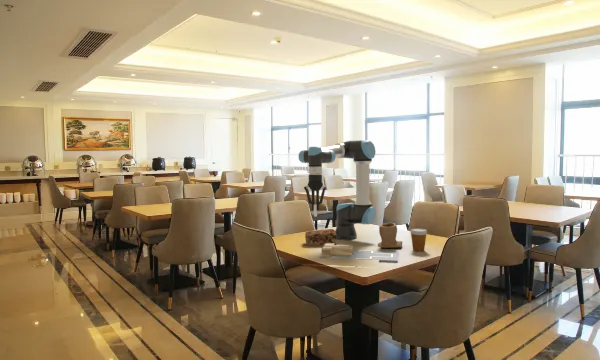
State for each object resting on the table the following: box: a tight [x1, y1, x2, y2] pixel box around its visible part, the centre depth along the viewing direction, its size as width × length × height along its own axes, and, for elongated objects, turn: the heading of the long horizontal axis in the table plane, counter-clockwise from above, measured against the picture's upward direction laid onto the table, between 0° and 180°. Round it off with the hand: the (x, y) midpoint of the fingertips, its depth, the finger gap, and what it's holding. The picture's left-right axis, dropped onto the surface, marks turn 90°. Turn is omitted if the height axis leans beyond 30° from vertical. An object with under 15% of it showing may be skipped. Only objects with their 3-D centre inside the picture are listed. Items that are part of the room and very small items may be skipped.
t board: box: [318, 249, 399, 263], centre depth 239 cm, size 20×42×1 cm, turn 78°
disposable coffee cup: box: [409, 228, 428, 252], centre depth 251 cm, size 10×10×12 cm
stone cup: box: [377, 222, 403, 249], centre depth 258 cm, size 15×12×15 cm
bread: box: [304, 228, 338, 247], centre depth 267 cm, size 19×11×10 cm, turn 94°
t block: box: [321, 243, 354, 257], centre depth 241 cm, size 16×16×4 cm
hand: (315, 216), depth 243 cm, fingers closed
